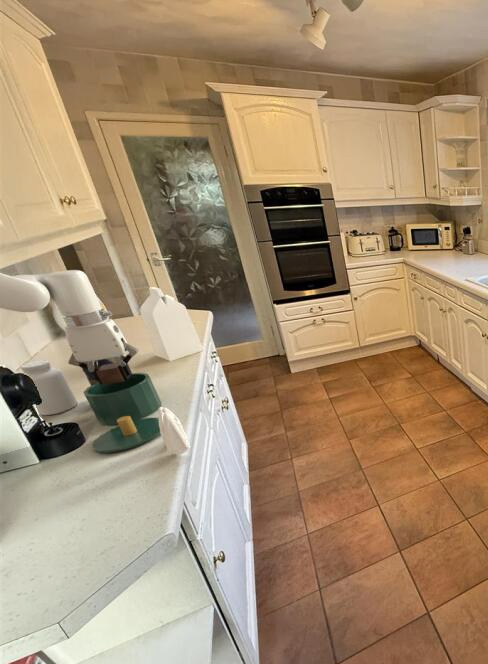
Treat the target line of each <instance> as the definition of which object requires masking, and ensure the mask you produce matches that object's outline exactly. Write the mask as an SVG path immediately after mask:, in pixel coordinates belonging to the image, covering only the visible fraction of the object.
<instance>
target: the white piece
mask: <svg viewBox="0 0 488 664" xmlns="http://www.w3.org/2000/svg"><path fill="white" fill-rule="evenodd" d="M157 418H159V427H160V436H161V439H162V441H163V443H164V446H165V448H166V451H167V453H168V454H169V455H176V456H180V455H182V454H184V453H186V452H187V451H189V450H190V448H191V446H190V443H189V440H188V437H187V434H186V432H185V430H184V428H183V425H182V423H181V421H180V419H179V418H178V416H177V415H175V414H174V413H173V412H172V411H171V410H170V409H168V408H167V407H163V406H161V407H159V409H158V410H157Z"/></svg>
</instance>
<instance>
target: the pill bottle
mask: <svg viewBox="0 0 488 664" xmlns="http://www.w3.org/2000/svg"><path fill="white" fill-rule="evenodd" d="M20 369H21V371H22V372H23V374H24V375H27V376H29V377H30V378H31V379H32V380H33V382H34V384H35V386H36V387H37V390H38V391H39V393H40V395H41V397H42V404H40V405H36V407H35V409H36V408H37V409H36V411H37V410H38V411H37V412H38V413H39V414H40V415H42V416H50V415H57V414H60V413H63V412H66V411H69V410H72V409H73V408H75V407H76V406H77V405H78V401H77V398H76V396H75V395H74V392H73V390H72V389H71V387H70V385H69V383H68V381H67V379H66V378H65V375H64V373H63V372H62V371H61V370H60V369H59V368H57V367H52V365H51V363H50V361H49V360H47V359H40V360H34V361H31V362H27V363H24V364H22V365H21V366H20Z"/></svg>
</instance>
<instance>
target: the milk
mask: <svg viewBox="0 0 488 664" xmlns="http://www.w3.org/2000/svg"><path fill="white" fill-rule="evenodd" d="M148 291H149V296H147V298H146V300H144V302H143V303H142V305H141V306H140V308H139V312H140V316H141V318H142V321H143V324H144V326H145V330H146V332H147V335H148V338H149V341H150V344H151V346H152V349H153V352H154V354H155V356H157V357H159V358H162V359H163V360H166V361H169V362H172V361H175V360H178V359H181V358H185V357H187V356H190V355H194V354H197V353H200V352H203V351H205V349H204V346H203V344H202V341H201V340H200V337H199V335H198V333H197V330H196V328H195V326H194V323H193V320H192V318H191V316H190V314H189V311H188V310H187V307H186V306H185V305H184V304H183V303H181V302H179V301H177V300H175V298H174V297H173V296H170V295H168V294H164V292H163V291H162V289H161V288H160V287H155V286H151V287H150V286H149V287H148Z"/></svg>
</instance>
